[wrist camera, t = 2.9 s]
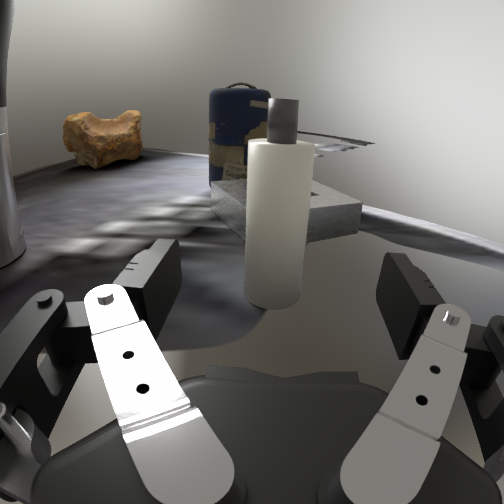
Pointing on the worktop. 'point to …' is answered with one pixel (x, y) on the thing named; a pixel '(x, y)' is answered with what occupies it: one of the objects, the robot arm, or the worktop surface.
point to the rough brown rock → (103, 138)
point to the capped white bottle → (277, 209)
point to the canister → (234, 129)
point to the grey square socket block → (320, 212)
